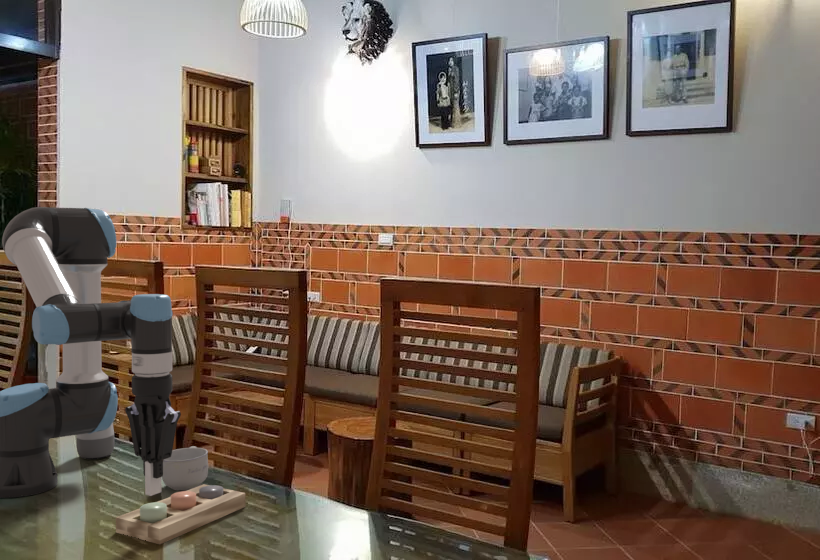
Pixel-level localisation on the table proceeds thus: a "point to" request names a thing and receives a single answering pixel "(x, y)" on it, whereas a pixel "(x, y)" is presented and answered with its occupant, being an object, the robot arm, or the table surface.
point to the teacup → (185, 468)
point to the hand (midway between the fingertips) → (153, 493)
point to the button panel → (180, 517)
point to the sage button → (153, 512)
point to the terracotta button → (183, 500)
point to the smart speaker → (96, 444)
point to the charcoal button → (211, 492)
